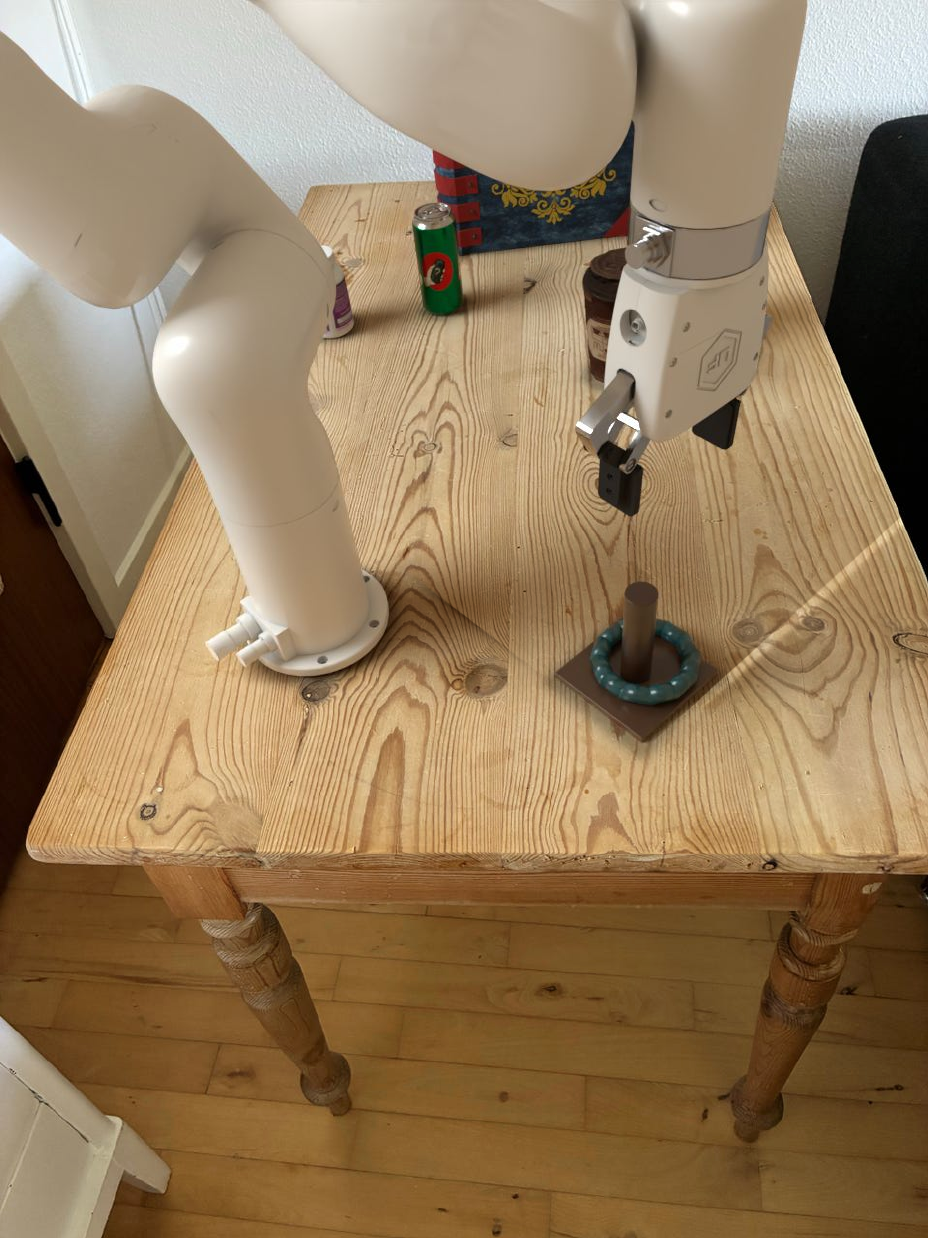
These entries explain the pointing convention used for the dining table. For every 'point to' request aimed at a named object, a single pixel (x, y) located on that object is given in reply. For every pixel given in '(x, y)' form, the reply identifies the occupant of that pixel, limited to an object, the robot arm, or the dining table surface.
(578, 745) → the dining table surface
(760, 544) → the dining table surface
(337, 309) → the pill bottle
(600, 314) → the coffee cup
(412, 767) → the dining table surface
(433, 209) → the soda can
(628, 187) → the book
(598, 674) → the ring
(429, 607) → the dining table surface
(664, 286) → the robot arm
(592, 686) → the peg stand
